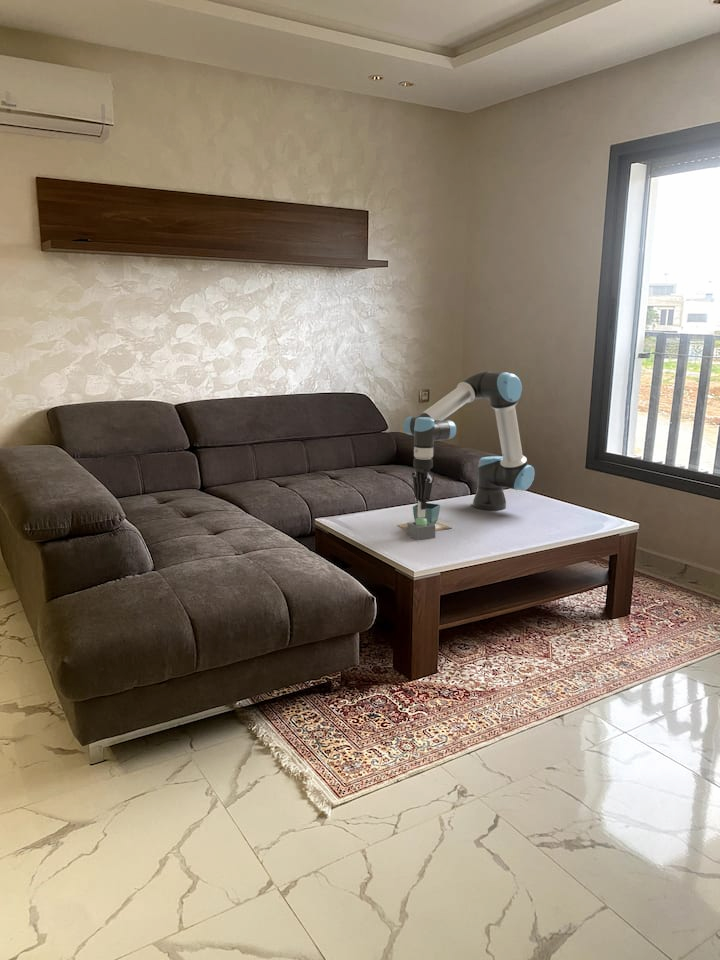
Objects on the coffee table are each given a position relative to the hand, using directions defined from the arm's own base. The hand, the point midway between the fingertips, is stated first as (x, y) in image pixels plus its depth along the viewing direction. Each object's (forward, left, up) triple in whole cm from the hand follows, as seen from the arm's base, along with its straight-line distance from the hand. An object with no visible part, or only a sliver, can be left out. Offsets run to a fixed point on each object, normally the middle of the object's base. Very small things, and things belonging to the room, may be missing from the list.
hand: (421, 516), depth 295 cm
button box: (0, 0, -8) cm, 8 cm away
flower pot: (-8, -9, -8) cm, 14 cm away
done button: (0, 0, -6) cm, 6 cm away
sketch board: (-8, -11, -8) cm, 15 cm away
